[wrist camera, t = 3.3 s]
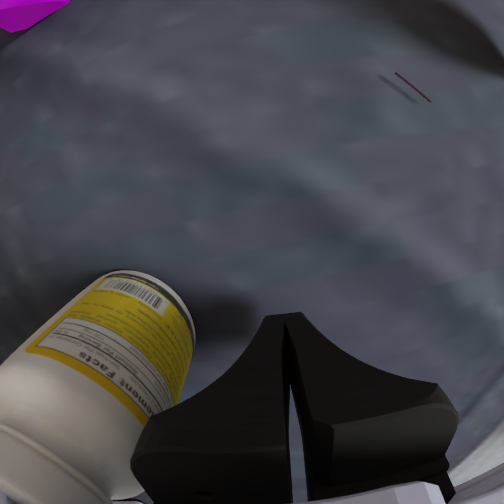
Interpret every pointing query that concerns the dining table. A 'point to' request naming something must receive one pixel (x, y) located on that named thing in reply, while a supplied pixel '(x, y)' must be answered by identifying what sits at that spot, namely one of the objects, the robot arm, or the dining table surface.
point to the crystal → (26, 12)
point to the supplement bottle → (91, 391)
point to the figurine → (413, 87)
